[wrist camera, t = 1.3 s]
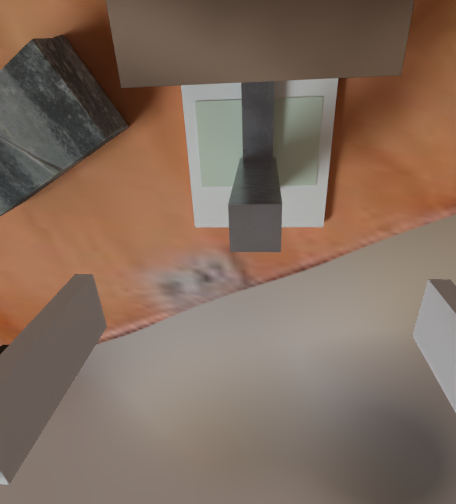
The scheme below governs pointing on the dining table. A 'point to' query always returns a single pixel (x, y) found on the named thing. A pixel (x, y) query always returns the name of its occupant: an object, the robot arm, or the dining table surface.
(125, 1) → the small grey table
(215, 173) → the white flat panel
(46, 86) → the stone block
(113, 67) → the dining table surface
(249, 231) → the grey l-shaped piece
